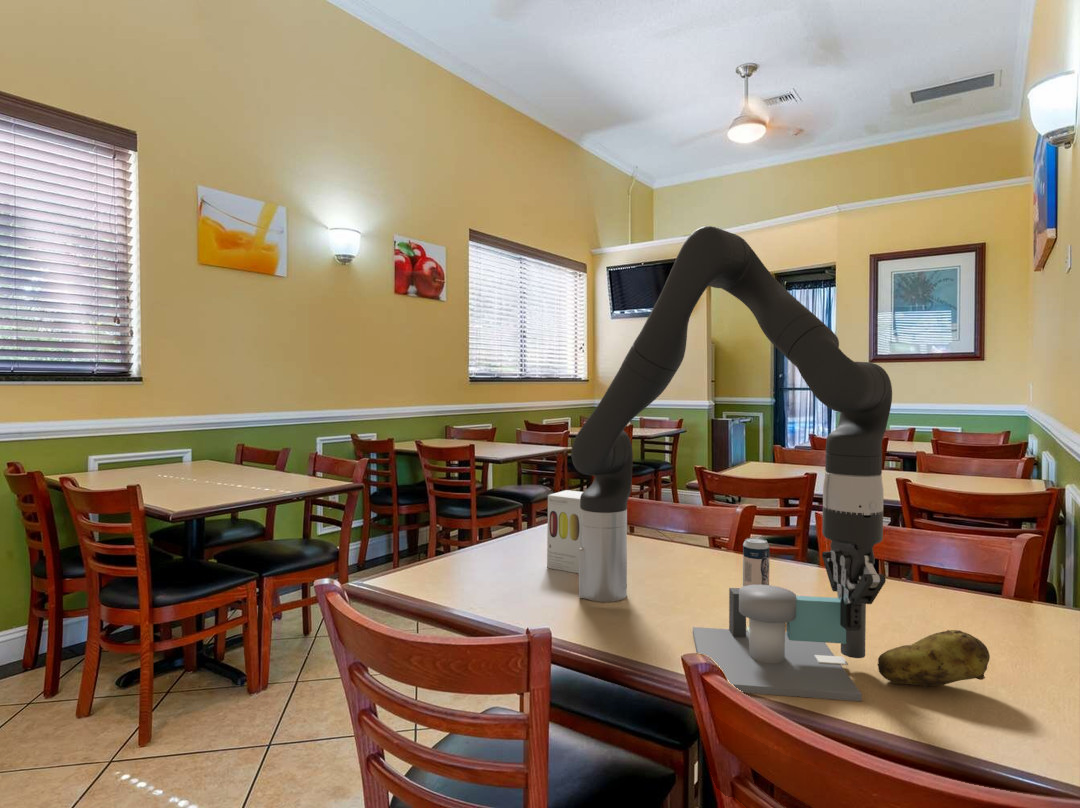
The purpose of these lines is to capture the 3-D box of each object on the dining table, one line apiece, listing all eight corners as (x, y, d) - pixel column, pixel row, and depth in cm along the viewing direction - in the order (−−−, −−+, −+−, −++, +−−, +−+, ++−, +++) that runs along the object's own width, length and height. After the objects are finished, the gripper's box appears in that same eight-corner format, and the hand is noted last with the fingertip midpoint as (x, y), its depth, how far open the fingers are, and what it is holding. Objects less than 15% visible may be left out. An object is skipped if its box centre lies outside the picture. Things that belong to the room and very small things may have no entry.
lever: (743, 657, 90) (743, 595, 90) (735, 635, 98) (735, 578, 98) (874, 666, 87) (875, 602, 87) (855, 643, 95) (856, 584, 95)
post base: (703, 689, 85) (704, 631, 85) (692, 630, 106) (692, 583, 105) (869, 702, 82) (870, 641, 81) (824, 638, 102) (824, 590, 102)
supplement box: (545, 568, 143) (545, 494, 142) (565, 558, 151) (565, 489, 150) (582, 574, 138) (582, 498, 137) (601, 564, 146) (601, 492, 145)
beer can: (770, 608, 116) (771, 544, 116) (744, 606, 117) (744, 542, 117) (766, 599, 121) (767, 538, 121) (741, 598, 122) (741, 537, 122)
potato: (880, 664, 93) (881, 611, 93) (987, 686, 86) (988, 628, 86) (875, 687, 86) (876, 629, 86) (991, 713, 79) (992, 650, 79)
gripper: (804, 497, 93) (802, 612, 94) (850, 515, 80) (848, 649, 81) (853, 496, 94) (852, 611, 94) (908, 515, 80) (906, 648, 81)
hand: (850, 628), depth 87 cm, fingers closed
